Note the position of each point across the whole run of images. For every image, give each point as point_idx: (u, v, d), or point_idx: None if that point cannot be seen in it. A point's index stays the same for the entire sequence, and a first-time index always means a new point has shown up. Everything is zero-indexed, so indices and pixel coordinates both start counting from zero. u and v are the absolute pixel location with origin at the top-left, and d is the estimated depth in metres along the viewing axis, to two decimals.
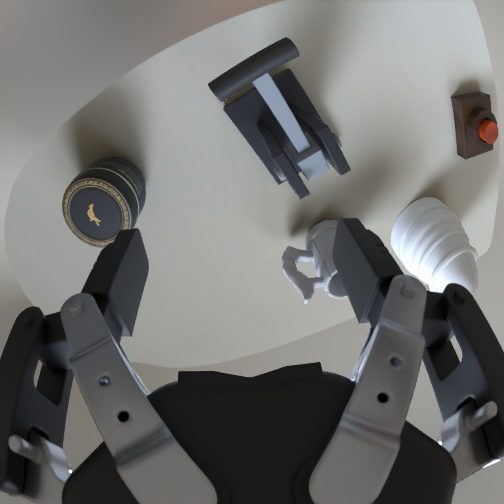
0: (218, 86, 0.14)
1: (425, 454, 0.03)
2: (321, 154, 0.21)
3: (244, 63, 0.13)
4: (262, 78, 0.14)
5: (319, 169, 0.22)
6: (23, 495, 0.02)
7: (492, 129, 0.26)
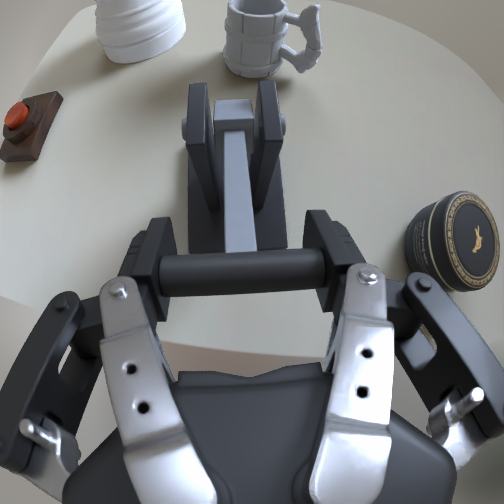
0: (313, 274, 0.09)
1: (425, 454, 0.03)
2: (215, 115, 0.14)
3: (252, 288, 0.09)
4: (239, 247, 0.10)
5: (228, 103, 0.15)
6: (23, 474, 0.03)
7: (10, 116, 0.22)
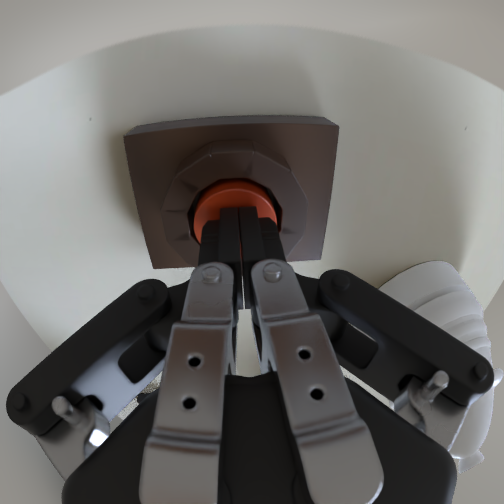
0: None
1: (425, 454, 0.03)
2: None
3: None
4: None
5: None
6: (38, 439, 0.04)
7: None
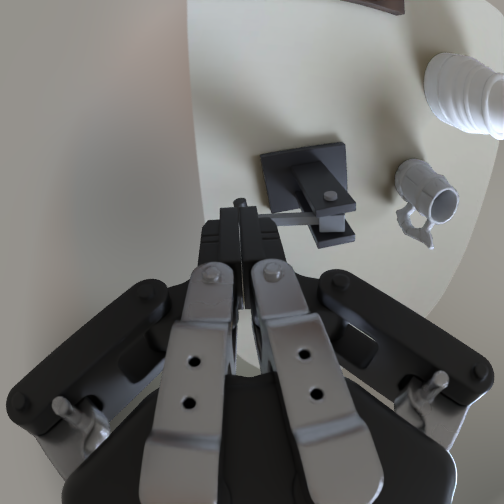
0: None
1: (425, 454, 0.03)
2: None
3: None
4: None
5: (339, 221, 0.29)
6: (38, 439, 0.04)
7: None
